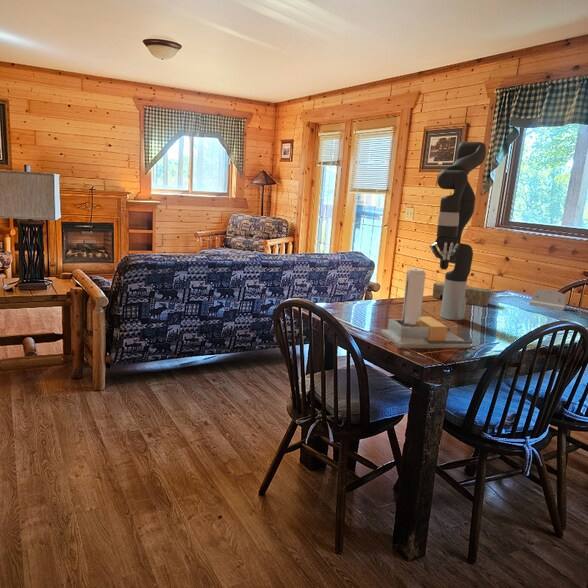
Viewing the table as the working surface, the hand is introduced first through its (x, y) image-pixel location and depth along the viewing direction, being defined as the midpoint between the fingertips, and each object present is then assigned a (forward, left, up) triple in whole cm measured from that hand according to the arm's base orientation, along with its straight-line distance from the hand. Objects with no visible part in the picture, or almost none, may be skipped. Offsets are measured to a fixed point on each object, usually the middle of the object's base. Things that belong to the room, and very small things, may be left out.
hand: (443, 269), depth 194 cm
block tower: (-42, -56, -26) cm, 75 cm away
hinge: (-86, -46, -25) cm, 101 cm away
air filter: (+17, +12, -24) cm, 31 cm away
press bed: (+10, +12, -25) cm, 29 cm away
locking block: (+9, +12, -23) cm, 27 cm away
